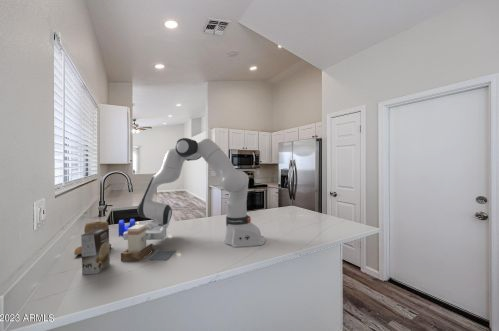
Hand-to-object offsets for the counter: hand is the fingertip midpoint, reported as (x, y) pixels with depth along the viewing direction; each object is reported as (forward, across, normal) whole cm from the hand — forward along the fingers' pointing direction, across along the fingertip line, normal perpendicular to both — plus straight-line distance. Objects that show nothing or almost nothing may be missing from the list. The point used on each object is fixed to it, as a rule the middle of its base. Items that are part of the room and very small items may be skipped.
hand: (136, 239), depth 108 cm
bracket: (-41, -29, +8) cm, 51 cm away
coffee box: (+13, -10, +8) cm, 18 cm away
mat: (-1, +12, +8) cm, 14 cm away
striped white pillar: (-1, 0, +8) cm, 8 cm away
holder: (-1, 0, +8) cm, 8 cm away
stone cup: (-7, -27, +8) cm, 29 cm away
